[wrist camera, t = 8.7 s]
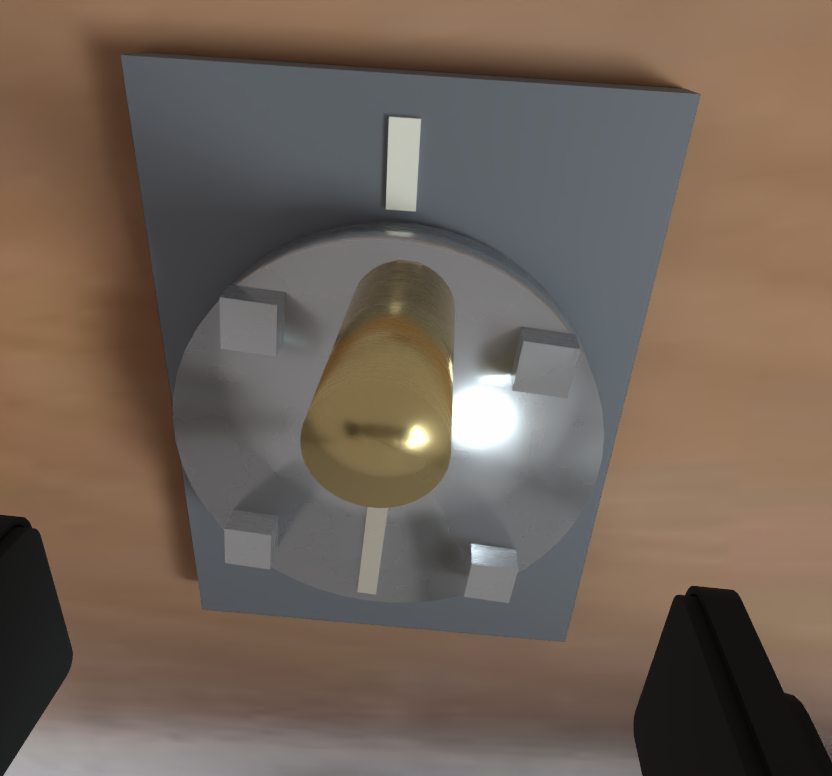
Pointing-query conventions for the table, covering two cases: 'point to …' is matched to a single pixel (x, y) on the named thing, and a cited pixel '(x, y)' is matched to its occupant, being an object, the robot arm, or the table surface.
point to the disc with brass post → (389, 415)
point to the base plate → (411, 203)
